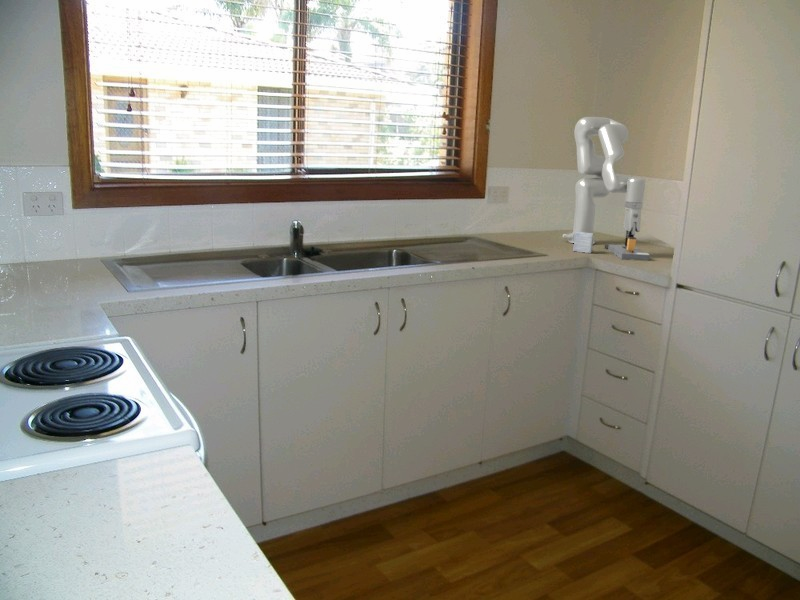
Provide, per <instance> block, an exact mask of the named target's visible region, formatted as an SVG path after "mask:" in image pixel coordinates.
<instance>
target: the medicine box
mask: <svg viewBox="0 0 800 600" xmlns="http://www.w3.org/2000/svg"><path fill="white" fill-rule="evenodd" d="M594 236H595V235H594V233H593V234H592V233H583V232H576V233H575V237H574V244H573V246H572V247H573V248H572V252H573V251H577V252H576V253H582V252H585V254H592V252H593V245H594V244H593V241H594Z"/></svg>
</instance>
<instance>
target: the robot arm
mask: <svg viewBox="0 0 800 600" xmlns="http://www.w3.org/2000/svg"><path fill="white" fill-rule="evenodd" d="M573 133H574V141H575V145H576V160H577V161H576V165H577V171H578V173H579V174H580V175H583V176H594V177H583V178H580V179H578V181H576V182H575V186H574V188H575V189H574V190H575V191H574V193H575V206H574V217H573V218H574V219H573V224H572V225H573V228H572V232H570V233H569V234H568V233H563V234H562V238H563V239H568V243H571V244H573V243H574V237H575V233H576V232H583V233H592V234H594V226H595V216H596V204H595V200H594V199H596V198H597V199H598V198H599V199H600V198H601V199H602V198H606V197H607V196H608V195H609V194H610V193H613V194H619V193H621V194H622V193H623V194H625V199H624V209H625V212H624V213H625V214H624V220H623V229H624V230H625V239H624V245H625V246H626V247H627V241H628V237H635V235H636V232H637V233H639V232H640V231H641V221H642V219H641V217H642V210H643V204H644V195H645V187H646V179H644V178H643V177H635V176H630V175H616V172H615V168H614V167H615V166H614V165H615V162H617V161H619V160H620V159H622V157H624V155H625V150H624V148H623V145H622V143H625V142H627V140H628V138H629V130H628V128H627V126H626V125H624V124H623V123H620V122H619V121H617V120H614V119H612V118H609V117H601V116H585V117H581V118H580V119H579V120H578V121H577V123H575V126H574V131H573ZM591 136H598V138H599V139H598V140H599V142H600V145H601V149H602V151H603V155H597V154H596V147H595V143H594V140H593V139H592V137H591ZM595 244H596V241H595V240H593V245H595Z"/></svg>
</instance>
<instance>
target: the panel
mask: <svg viewBox="0 0 800 600" xmlns="http://www.w3.org/2000/svg"><path fill="white" fill-rule="evenodd" d="M608 245H609V246H608V249H607V250H608V251H609V250H610V251H609V252H611V253H612V254H613V253H614V255H615V256H616V255H617V258H619V259H621V260H628V259H634V260H633V261H648V260H649V261H650V257H651V255H650V254H649V253H647V252H646V251H644V250H643V249H640V248H639V247H637V246H636V245H635V250H633V251H632V253H631V252H629V250H627V247H626V246H625V244H623V245H622V244H608Z"/></svg>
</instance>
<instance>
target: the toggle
mask: <svg viewBox="0 0 800 600" xmlns="http://www.w3.org/2000/svg"><path fill="white" fill-rule="evenodd" d="M636 244H637V237H635V236H634V237H628V241H627V250H629V252H631V253H632V251H633V250H635V246H636Z"/></svg>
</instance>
